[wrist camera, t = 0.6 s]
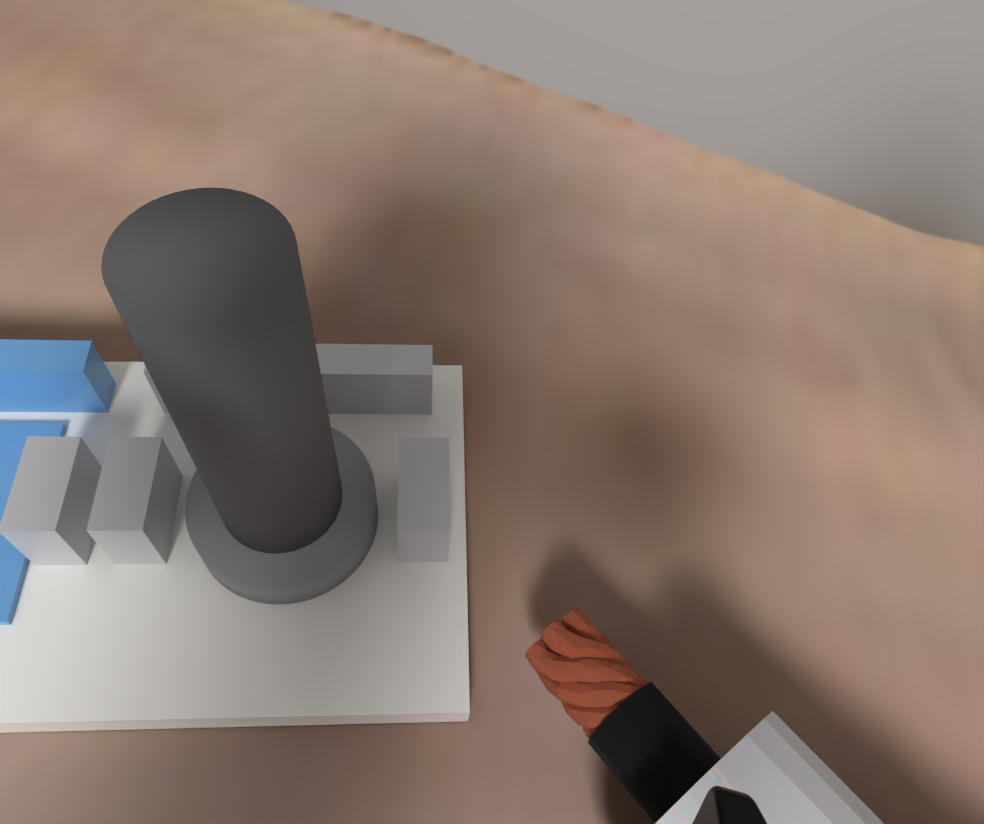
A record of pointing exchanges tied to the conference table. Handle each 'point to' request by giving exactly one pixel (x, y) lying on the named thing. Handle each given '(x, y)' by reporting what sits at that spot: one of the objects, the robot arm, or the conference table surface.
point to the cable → (681, 740)
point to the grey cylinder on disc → (243, 392)
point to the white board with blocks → (187, 581)
